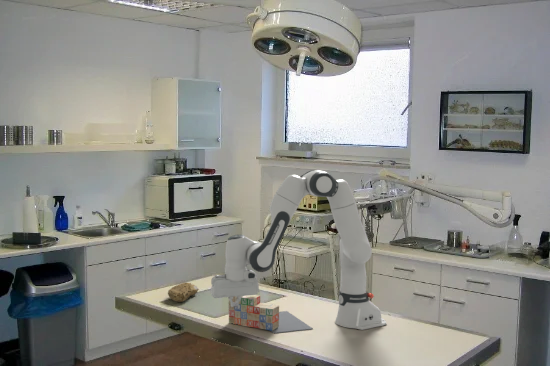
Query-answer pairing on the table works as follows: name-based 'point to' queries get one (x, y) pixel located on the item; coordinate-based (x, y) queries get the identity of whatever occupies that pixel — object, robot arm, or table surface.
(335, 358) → the table surface
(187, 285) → the brown rock
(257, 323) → the stack of blocks
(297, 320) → the mat
